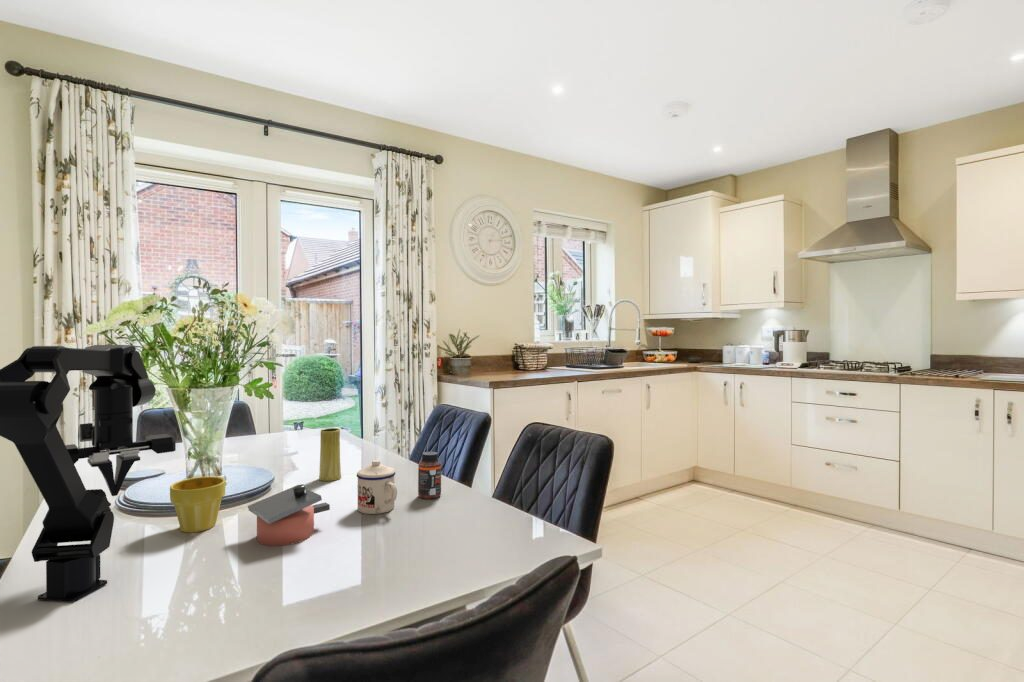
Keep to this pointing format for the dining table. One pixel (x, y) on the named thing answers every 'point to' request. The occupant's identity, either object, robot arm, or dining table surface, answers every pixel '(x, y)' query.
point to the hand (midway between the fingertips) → (114, 495)
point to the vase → (330, 455)
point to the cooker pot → (289, 527)
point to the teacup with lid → (376, 488)
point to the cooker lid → (284, 503)
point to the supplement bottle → (429, 476)
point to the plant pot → (197, 502)
